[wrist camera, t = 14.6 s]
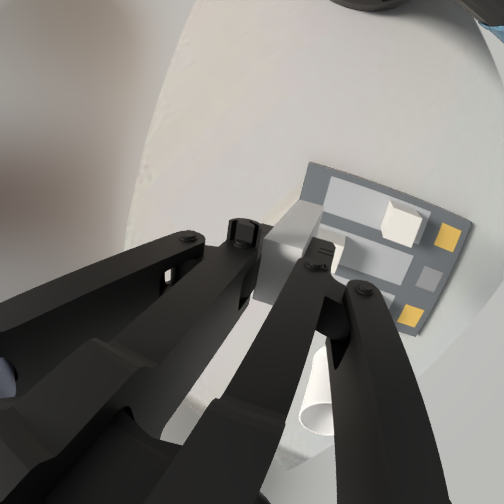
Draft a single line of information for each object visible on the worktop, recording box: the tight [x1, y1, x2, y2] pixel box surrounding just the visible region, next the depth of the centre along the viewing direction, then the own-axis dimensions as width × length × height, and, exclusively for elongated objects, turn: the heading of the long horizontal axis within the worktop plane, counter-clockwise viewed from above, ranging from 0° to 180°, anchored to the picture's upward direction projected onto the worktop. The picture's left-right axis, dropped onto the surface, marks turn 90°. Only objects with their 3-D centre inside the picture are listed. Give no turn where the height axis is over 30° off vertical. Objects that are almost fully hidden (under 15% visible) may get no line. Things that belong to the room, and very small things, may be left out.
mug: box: [299, 346, 334, 436], centre depth 39 cm, size 12×8×12 cm
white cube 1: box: [381, 200, 422, 248], centre depth 31 cm, size 4×4×4 cm
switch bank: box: [299, 162, 472, 337], centre depth 36 cm, size 18×22×1 cm
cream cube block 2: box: [317, 227, 346, 274], centre depth 35 cm, size 4×4×4 cm
